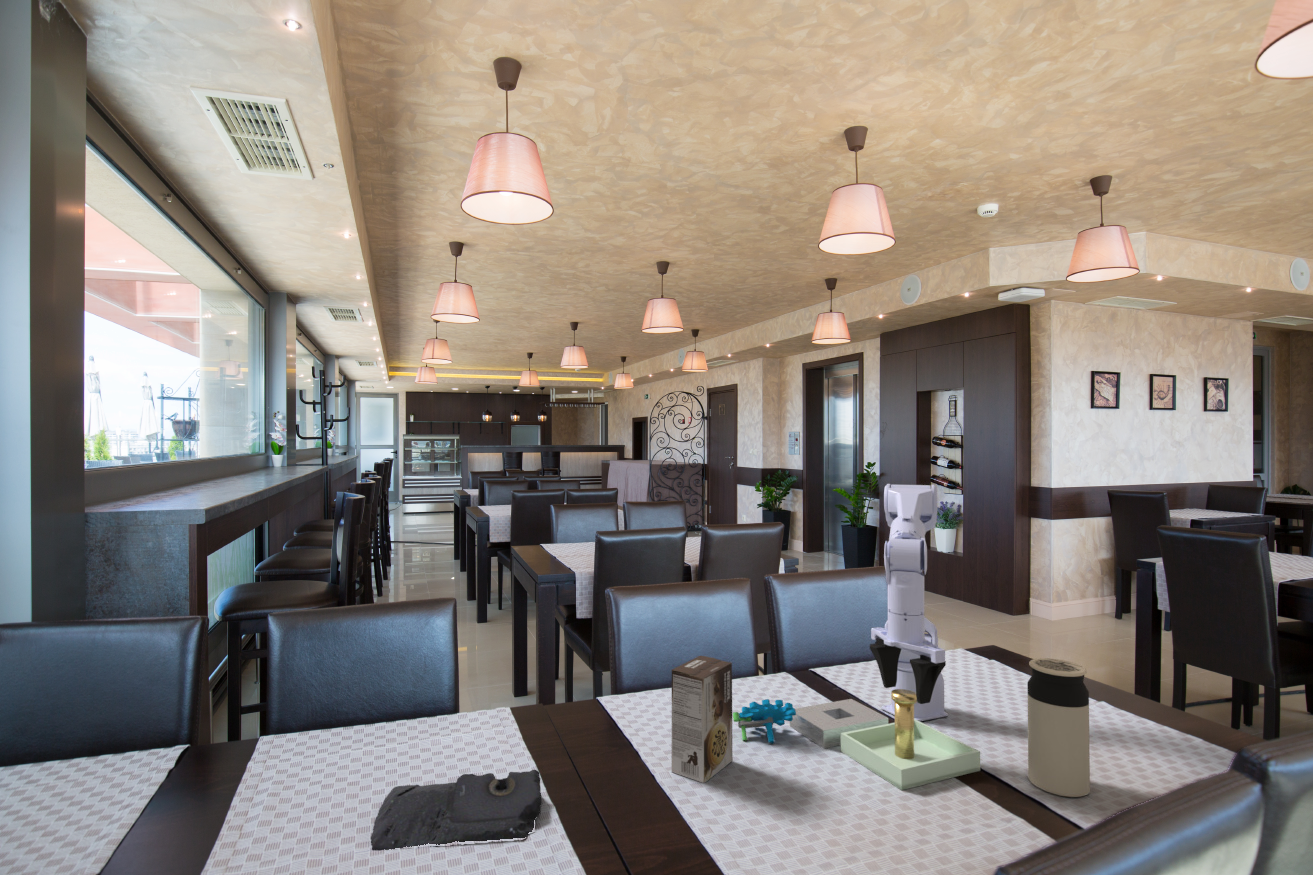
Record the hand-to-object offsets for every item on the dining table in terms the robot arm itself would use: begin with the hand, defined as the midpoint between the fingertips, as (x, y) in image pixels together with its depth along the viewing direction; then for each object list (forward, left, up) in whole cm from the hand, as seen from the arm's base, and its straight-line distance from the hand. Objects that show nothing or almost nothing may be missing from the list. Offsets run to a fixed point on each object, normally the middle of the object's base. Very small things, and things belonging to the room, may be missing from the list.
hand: (906, 694), depth 110 cm
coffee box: (+33, -10, -11) cm, 36 cm away
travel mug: (-14, +16, -11) cm, 24 cm away
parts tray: (+1, +1, -10) cm, 10 cm away
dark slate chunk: (+70, -10, -11) cm, 71 cm away
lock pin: (+1, 0, -10) cm, 10 cm away
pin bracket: (+4, -13, -10) cm, 17 cm away
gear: (+17, -16, -11) cm, 26 cm away
